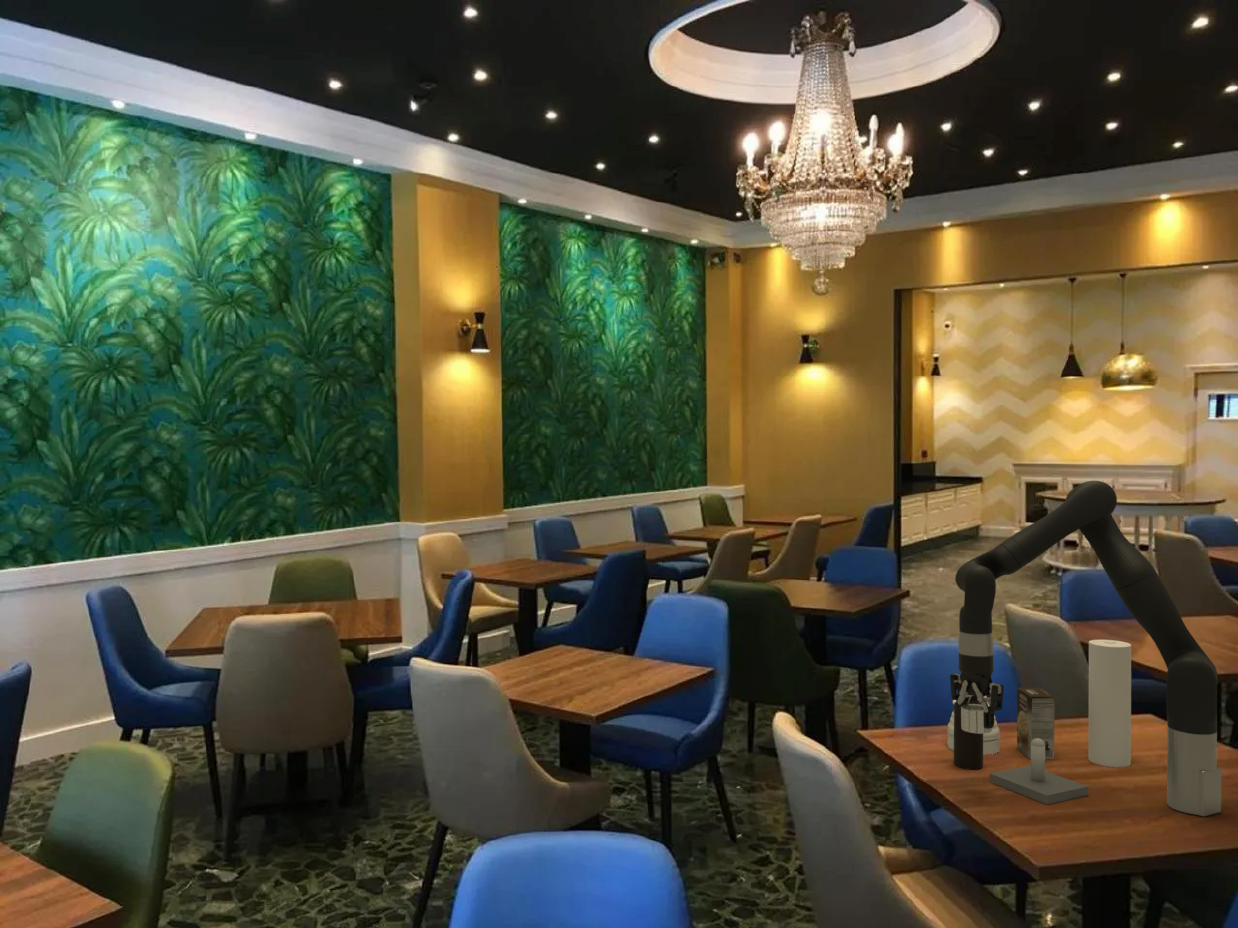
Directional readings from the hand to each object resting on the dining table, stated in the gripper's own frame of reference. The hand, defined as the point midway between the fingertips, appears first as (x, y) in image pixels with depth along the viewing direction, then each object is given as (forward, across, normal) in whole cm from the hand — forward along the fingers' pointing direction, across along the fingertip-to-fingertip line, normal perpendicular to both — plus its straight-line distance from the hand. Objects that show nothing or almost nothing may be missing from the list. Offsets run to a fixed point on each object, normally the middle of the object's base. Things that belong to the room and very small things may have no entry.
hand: (976, 723), depth 218 cm
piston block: (+15, -6, -13) cm, 21 cm away
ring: (+1, 0, 0) cm, 1 cm away
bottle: (+15, +13, -11) cm, 23 cm away
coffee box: (+15, +12, -33) cm, 38 cm away
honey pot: (+15, +23, -23) cm, 36 cm away
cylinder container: (+15, 0, -45) cm, 48 cm away
